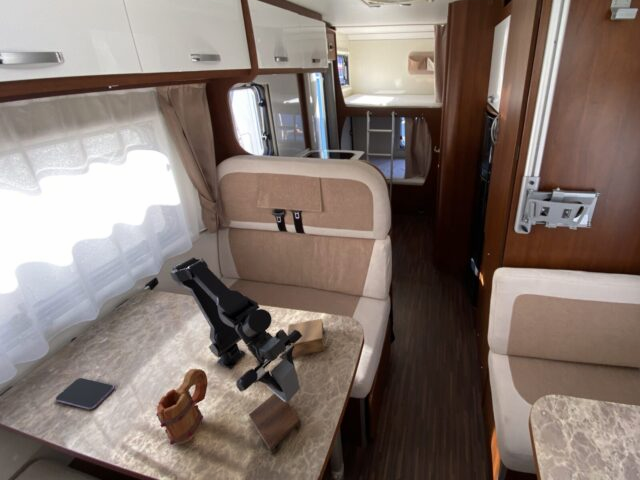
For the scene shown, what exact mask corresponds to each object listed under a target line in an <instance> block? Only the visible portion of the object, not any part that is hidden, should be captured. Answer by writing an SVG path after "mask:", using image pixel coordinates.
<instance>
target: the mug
mask: <svg viewBox="0 0 640 480" xmlns="http://www.w3.org/2000/svg"><path fill="white" fill-rule="evenodd" d="M208 383H209V382H208V376H207V373H206V371H205V370H203V369H201V368H190V369H188V371H187V372H186V374H185V375H184V378H183V380H182V382H181V384H180V386H179V387H178V388H177V389H171V390H169V391H168V392H167V393H166V394H165V395H164V396H162V397H161V398H160V400H159V402H158V405H157V407H156V410H157V412H156V413H155V416H156V417H157V419H158V421H159V423H160V427H161V428H165V430H164V432H165V434H166V436H167V438H168V439H169V445H172V446H173V445H184V444H185V443H187V442H188V441H190V440H192V439H193V437H195V435H196V434H197V433H198V432H199V430H200V428H201V425H202V420H203V419H204V415H203V413H202V411H201V410H200V408H199V405H198V404H199V403H201V402H202V401H204V400H205V399H206V395H207V390H208V385H209V384H208ZM192 387H194V391H193V394H191V393H190V390H191V388H192Z"/></svg>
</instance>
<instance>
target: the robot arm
mask: <svg viewBox="0 0 640 480" xmlns="http://www.w3.org/2000/svg"><path fill="white" fill-rule="evenodd" d="M170 276H171V278H172V280H173V281H174V282H175V283H177V284H178V286H179V287H182V288H184V289H187V290H188V291H189V293H190V294H191V296H192V297H193V299H194V301H195V303H196V305H197V306H198V308H199V310H200V312H201V313H202V315H203V317H204V319H205V321H206V323H207V324H208V326H209V328H210V329H209V330H210V331H209V339H210V341H211V344H210V345H209V346H208V348H209V350H210V352H211V353H212V354H213V355H214V356H215V357H216V358H218V360H217V361H216V363H217V365H220V366H222V367H223V368H224V367H225V368H226V369H230V370H231V369H234V366H235V365H237V363H238V362H239V361H240V360H241V359H242V358H243V356H244V355H245V354H246V351H244V350H241V349H240V347H239V345H238V343H239V342H240V341H243V343H244V344H245V345H246V347H247V350H248V351H249V352H250V353H251V354H252V356H253V357H254V358H255V361H256V363H257V365H256V366H255V367H254V368H250V369H249V370H247V371H246V372H245V373H243V375H241V376H240V377H239V378H238V379H237V380H236V382H235V386H236V388H237V389H238V390H239V392H240V393H241V392H244V391H247V389H249V388H250V387H251V386H252V385H253V384H256V383H262V384H265V385H266V386H267V385H269V386H271V387H272V388H274V389H276V390H278V391H279V392H283V390H282V388H281V387H280V385H279V384H278V383H277V382H276V381H275V380H274V378H273V377H272V376H271V372H270V371H269V370H265V368H267V367H268V366H269V365H270V364H271V363H272V362H274V361H276V359H278V357H279V358H280V359H281V361H282V360H283V359H286V360H287V361H288V362H290V363H291V364H293V365H294V366H295V362H294V357H293V356H292V352H293V349H294V348H295V347H294V346H292V345H291V343H293V344H294V343H296V342H297V341H298V340H299V339H300V338H301V337H302V335H301V333H300V332H299V331H298V330H294V331H292V332H290V333H289V334H288V333H286V331H285V330H284V329H279V330H278V331H277V332H276V333H274V334H275V335H274V336H272V335H271V333H270V332H269V331H268V332H267V330H268V329H269V328H270V326H271V324H272V318H273V317H272V314H271V313H270V311H268V310H266V309H263V308H260V305H259V303H258V302H257V301H255V300H253V299H252V298H250V297H248V296H247V295H244V294H243V293H241V292H240V291H239V290H234V289H230V288H229V286H227V285H226V284H225V283H224V282H223V281H222V280H221V279H220V278H219V277H218V276H217V275H216V274H215V273H214V272H213V271H212V270H211V269H210V268H209V265H208V263H207V262H206V260H204V258H203V257H198V258H195V257H194V256H193V257H191V258H188V259H186V260H184V261H182V262H180V263H178V264H177V265H174V266H173V267H172V271H171V272H170ZM295 370H296V371H297V369H296V368H295ZM296 374H297V375H298V373H297V372H296Z"/></svg>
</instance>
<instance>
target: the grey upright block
mask: <svg viewBox="0 0 640 480" xmlns="http://www.w3.org/2000/svg"><path fill="white" fill-rule="evenodd" d="M295 369H296V365H295V364H294V365H293V364H291V363H290V362H288V361H287V360H286V359H283V360H282V359H281V360H280V361H279V362H278V363H277V364H276V365H275V366H274V367H273V368H272V369H271V370H270V371H269V372H270V375H271V376H272V377H273V378H274V380H275V381H276V382H277V383H278V384H279V385H280V387H281V388H282V390H283V392H279V391H278V390H276V389H274V388H272V387H271V386H269V385H267V384H266V387H267V389H269V390H270V391H271V392H272V393H273V394H274V393H275V394H276V395H277V396H278V397H279V398H281V399H282V400H283V401H284V402H287V403H288V404H289V402H290V401H291V400H292V398H293V397H295V395H296V394H297V393H298V392H299V391H300V390H301V385H300V383H299V378H298V373H297V369H296V370H295ZM296 373H297V374H296Z"/></svg>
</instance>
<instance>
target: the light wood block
mask: <svg viewBox="0 0 640 480" xmlns="http://www.w3.org/2000/svg"><path fill="white" fill-rule="evenodd" d="M287 327H288V328H287V335H288V334H289V333H290V332H292V331H294V330H298V331H299V332H300V333H301V335H302V337H301V338H300V339H299V340H298V341H297V342H296V343H294V344H293V343H291V345H292V346H294V347H295V348H294V349H293V352H292V356H293V358H295V357H299V356H304V355H309V354H310V355H311V354H314V353H319V352H323V351H325V344H324V338H323V337H324V336H323V334H324V333H325V328H324V322H323V318H317V319H311V320H306V321H301V322H296V323H295V322H294V323H290V324H288V326H287Z"/></svg>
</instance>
